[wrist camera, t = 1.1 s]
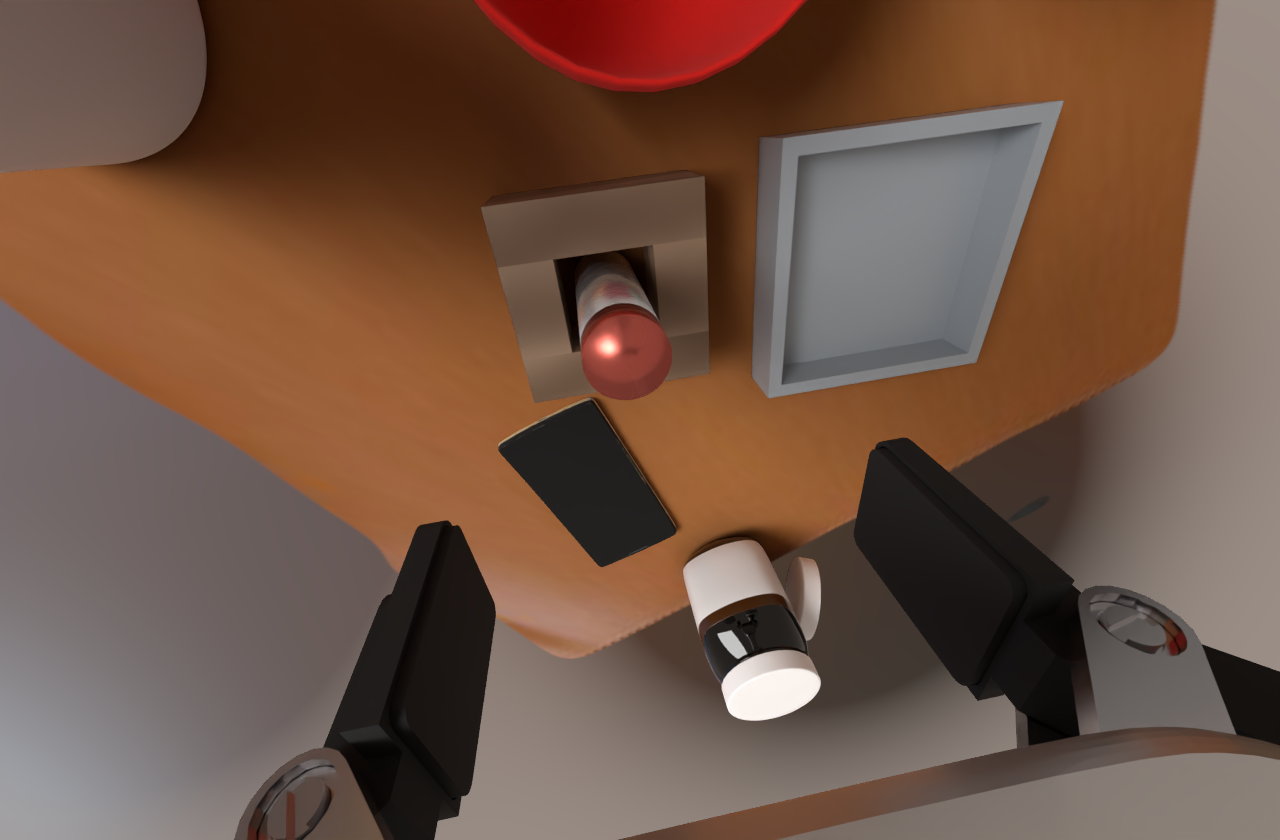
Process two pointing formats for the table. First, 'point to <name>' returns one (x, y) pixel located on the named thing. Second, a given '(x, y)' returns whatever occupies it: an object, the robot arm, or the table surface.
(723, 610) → the jar and lid
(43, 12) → the cylinder vase
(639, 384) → the steel pin
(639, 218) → the walnut socket block
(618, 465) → the dark small pieces
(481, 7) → the red bowl
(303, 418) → the table surface
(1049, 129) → the slate tray
